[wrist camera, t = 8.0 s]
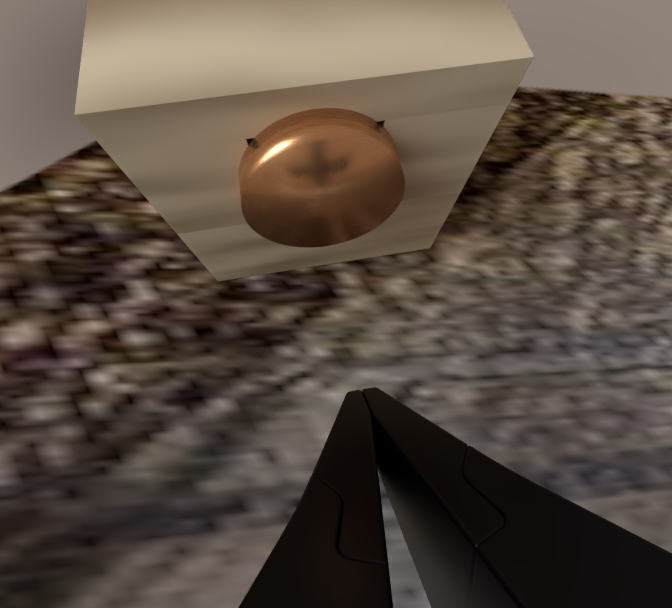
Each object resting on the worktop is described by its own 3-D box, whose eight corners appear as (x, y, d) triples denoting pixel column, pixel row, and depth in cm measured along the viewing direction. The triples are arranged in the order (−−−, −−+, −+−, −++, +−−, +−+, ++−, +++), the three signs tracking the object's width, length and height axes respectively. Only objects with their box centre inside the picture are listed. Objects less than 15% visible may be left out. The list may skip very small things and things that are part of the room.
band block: (430, 248, 19) (534, 56, 9) (217, 281, 18) (74, 114, 8) (397, 140, 21) (450, -102, 11) (211, 165, 21) (96, -67, 11)
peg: (391, 236, 14) (423, 128, 9) (261, 256, 14) (215, 156, 9) (352, 84, 17) (358, -65, 12) (244, 97, 17) (202, -48, 12)
